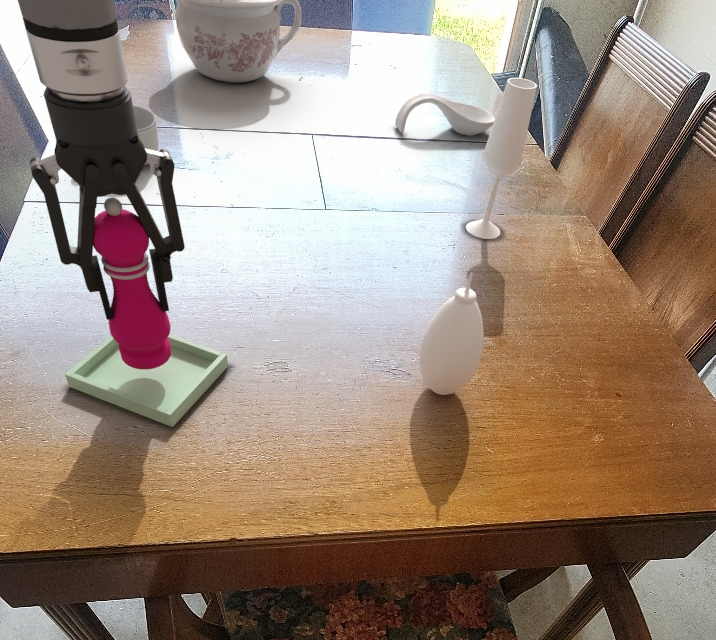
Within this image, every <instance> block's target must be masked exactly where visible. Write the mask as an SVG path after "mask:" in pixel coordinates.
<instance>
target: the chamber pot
mask: <svg viewBox="0 0 716 640" xmlns="http://www.w3.org/2000/svg"><path fill="white" fill-rule="evenodd" d="M287 4H288V5H292V6H293V11H294V19H293V24H292V25H291V27H290V29H288V31H287V33H286V34H285V35H283V36H282V37H280V36H281V19H282V11H281V10H282V7H283V6H284V5H287ZM301 7H302V6H301V5H300V2H299V0H178V2H177V6H176V9H175V23H176V29H177V33H178V36H179V40H180V44H181V47H182V48H183V50H184V52H185V53H186V55H187V57H188V58H189V60H190V62H191V64H192V65H193V67H195V69H196V70H197V71H198V72H199V73H200V74H202V75H203V76H206V77H207V78H210V79H211V80H215V81H218V82H221V83H231V84H244V83H249V82H252V81H255V80H258V79H260V78H262V77H263V76H264V75H266V73H267V72H268V71H269V70H270V67H271V66H272V64H273V62H274V60H275V59H276V57H277V55H278V54H279V52H280V51H281V50H282V49H283V48H284V46H286V45H287V44H288V43H289V42H290V41H291V40H293V39H294V37H295V36H296V34H297V32H298V31H299V29H300V28H301V25H302V17H303V16H302V8H301Z"/></svg>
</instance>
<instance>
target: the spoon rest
mask: <svg viewBox="0 0 716 640" xmlns="http://www.w3.org/2000/svg"><path fill="white" fill-rule="evenodd" d="M423 104H433V105H435V106H436V107H437V108H439V110H440V111H441V113H442V114H443V116H444V117H445V119H446V120H447V122H448V123H449V125H450V126H451V128H452V129H453V131H455V133H458V134H460V135H464V136H476V135H478V134H482V133H484V132H487V130H489V129H490V128H492V126H493V123H494V120H495V117H496V116H494V115H493V114H492V112H490V111H488V110H485V109H483V108H482V107H479V106H476V105H472V104H468V103H465V102H464V103H463V102H459V101H454V100H450V99H449V98H445V97H443V96H440V95H438V94H435V93H431V92H430V93H429V92H424V93H419V94H416V95H413V96H412V97H410V98H408V100H406V101H405V103H404V104H402V106H401V107H400V109H399V111H398V113H397V115H396V118H395V122H394V125H395V127H396V128H397V130H398V131H399V132H400V133H404V131H405V128H406V123H407V120H408V117H409V115H410V114H411V113H412V111H413V110H414V109H415V108H416V107H419V106H421V105H423Z"/></svg>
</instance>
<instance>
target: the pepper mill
mask: <svg viewBox="0 0 716 640" xmlns="http://www.w3.org/2000/svg"><path fill="white" fill-rule="evenodd" d="M103 207H104V210H103V211H101V212H99V213H98V214H97V215H95V223H94V238H93V249H94V250H95V251H96V252H97V254H99V255H100V256H101V264H102V267H103V271H104V273H105V274H106V275H107V276H109V277H110V280H111V282H112V284H111V285H112V289H113V294H112V300H111V304H110V307H111V311H112V315H113V319H109V320H108V328H109V333H110V336H111V335H112V337H113V339H114V340H115V341H116V342H117V343H118V344H119V351H120V354H121V358H122V360H123V361H124V363H125V364H127V365H128V366H130V367H132V368H136V369H153V368H157V367H160V366H161V365H163V364H165V363H166V362H167V361H168V360H169V358H170V356H171V347H170V342H169V339H168V336H169V334H171V329H172V328H171V327H172V326H171V322H170V318H169V315H168V313H167V311H165V312H163V311H162V307H161V304H160V302H159V299H158V298H157V297H156V295H155V294H154V293H153V290H152V289H151V287H150V283H149V280H148V272H149V270H150V268H151V266H150V265H151V264H150V261H149V255H148V253H147V251H148V250H149V246H150V238H149V236H148V234H147V232H146V230H145V228H144V227H143V225H142V223H141V221H140V219H139V217H138V215H137V214H135V213H134V212H132V211H130V210H127V209H123V205H122V202H121V201H120V199H118V198H116V197H112V196H110V197H108V198H106V199H105V201H104V203H103Z"/></svg>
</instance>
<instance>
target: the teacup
mask: <svg viewBox="0 0 716 640" xmlns="http://www.w3.org/2000/svg"><path fill="white" fill-rule="evenodd" d="M133 109H134V115H135V120H136V126H137V132H138V137H139V139H140V141H141V142H142V144H143V145H144V147H145V149H149V150H153V151H157V152H159V136H158V135H159V134H158V128H157V127H158V126H157V117H156V115H155V114H154V113H153V112H152V111H151V110H150V109H148V108H145V107H143V106H139V105H135V104H133ZM147 165H149V164H148V163H145V165H144V167H145V166H147Z"/></svg>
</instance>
